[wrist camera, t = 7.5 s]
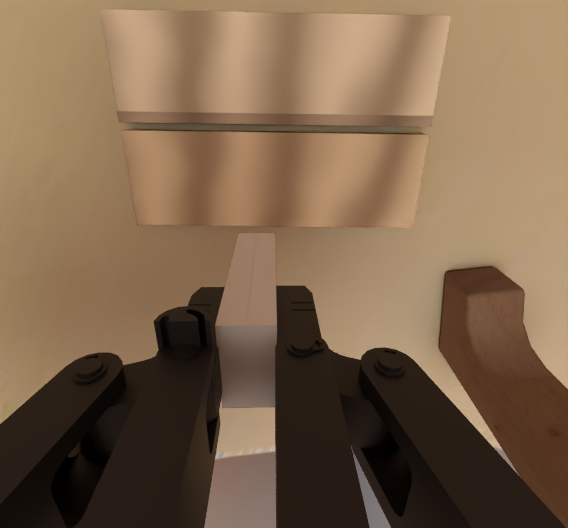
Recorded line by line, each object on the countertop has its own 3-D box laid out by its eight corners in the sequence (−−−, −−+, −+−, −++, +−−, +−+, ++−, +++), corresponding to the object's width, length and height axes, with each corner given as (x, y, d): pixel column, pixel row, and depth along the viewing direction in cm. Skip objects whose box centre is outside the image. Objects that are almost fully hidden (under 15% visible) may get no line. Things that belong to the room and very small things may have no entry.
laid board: (128, 120, 26) (119, 122, 24) (111, 15, 23) (99, 9, 22) (422, 125, 26) (431, 126, 24) (440, 21, 23) (451, 15, 22)
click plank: (143, 219, 29) (137, 224, 27) (129, 129, 26) (121, 130, 25) (406, 222, 29) (412, 227, 28) (421, 133, 26) (429, 134, 25)
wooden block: (444, 270, 31) (622, 454, 15) (495, 264, 31) (732, 445, 15) (437, 349, 35) (573, 566, 19) (482, 345, 35) (660, 560, 18)
